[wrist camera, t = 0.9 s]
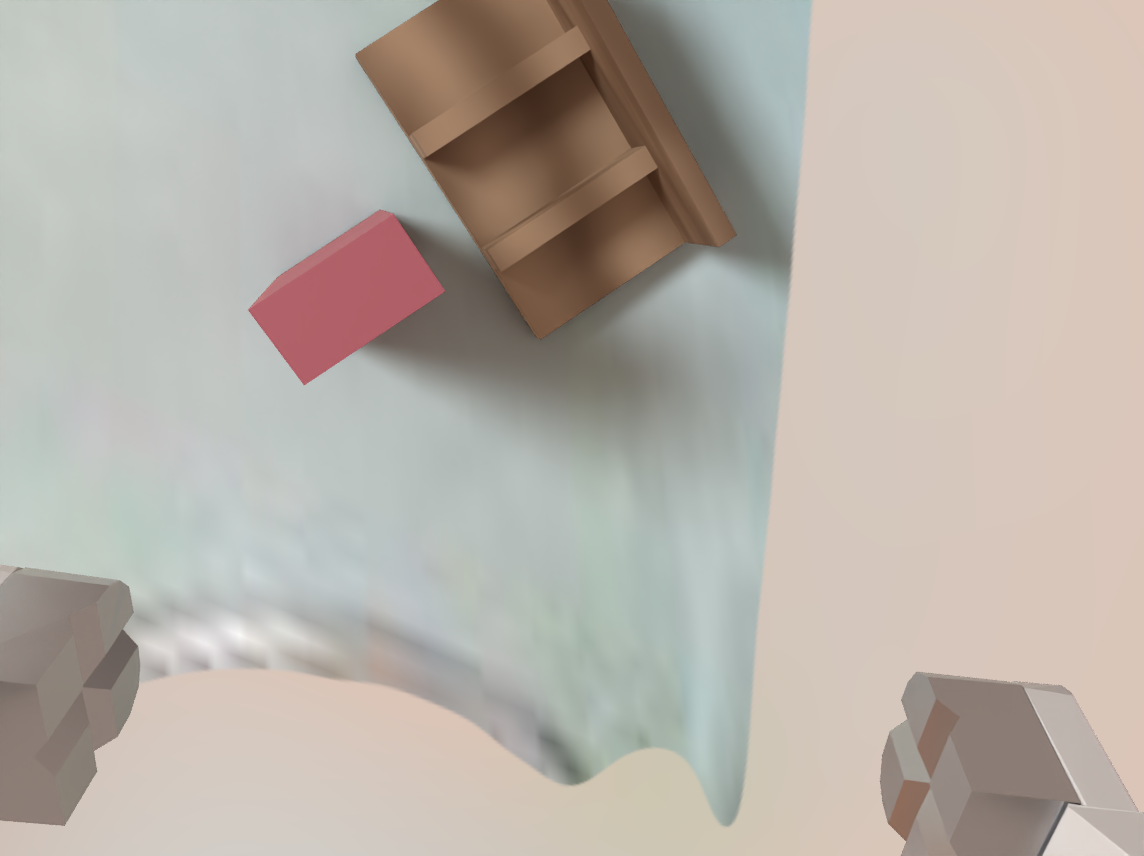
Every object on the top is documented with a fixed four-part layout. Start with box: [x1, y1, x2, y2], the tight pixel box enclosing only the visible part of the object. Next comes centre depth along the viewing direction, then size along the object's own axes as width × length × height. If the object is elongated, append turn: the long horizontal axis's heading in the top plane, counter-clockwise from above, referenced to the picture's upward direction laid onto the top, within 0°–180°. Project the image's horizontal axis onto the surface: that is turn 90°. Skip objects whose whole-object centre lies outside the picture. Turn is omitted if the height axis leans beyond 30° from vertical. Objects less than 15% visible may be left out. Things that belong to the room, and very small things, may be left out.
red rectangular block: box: [248, 210, 445, 385], centre depth 42 cm, size 6×3×15 cm, turn 122°
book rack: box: [356, 0, 736, 340], centre depth 47 cm, size 10×16×6 cm, turn 32°
